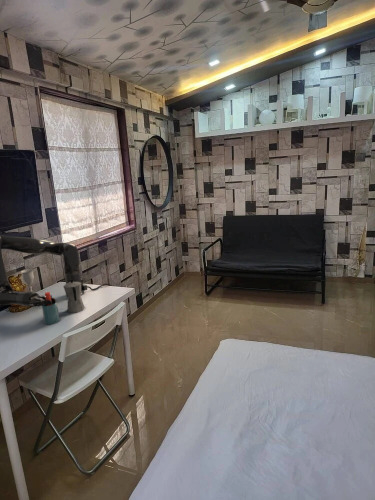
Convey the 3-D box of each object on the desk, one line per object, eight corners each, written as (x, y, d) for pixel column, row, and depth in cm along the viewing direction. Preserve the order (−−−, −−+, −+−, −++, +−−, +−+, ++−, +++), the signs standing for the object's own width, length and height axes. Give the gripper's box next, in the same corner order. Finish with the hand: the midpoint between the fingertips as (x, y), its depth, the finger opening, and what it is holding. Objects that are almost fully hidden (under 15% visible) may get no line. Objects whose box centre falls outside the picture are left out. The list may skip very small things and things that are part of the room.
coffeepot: (66, 307, 190) (61, 277, 185) (83, 303, 193) (78, 274, 189) (69, 317, 176) (64, 285, 172) (87, 313, 180) (82, 282, 176)
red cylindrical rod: (52, 316, 174) (48, 291, 171) (55, 317, 173) (50, 292, 169) (48, 318, 172) (43, 293, 169) (51, 319, 171) (46, 294, 167)
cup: (54, 317, 178) (51, 299, 175) (62, 319, 174) (59, 302, 171) (42, 322, 172) (38, 304, 170) (50, 325, 168) (47, 307, 166)
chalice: (33, 300, 204) (28, 272, 200) (23, 299, 206) (18, 272, 202) (40, 295, 211) (35, 268, 207) (31, 295, 213) (26, 268, 208)
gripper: (15, 297, 168) (42, 299, 162) (36, 287, 180) (61, 289, 175) (18, 310, 170) (44, 313, 164) (38, 300, 182) (63, 302, 176)
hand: (53, 301), depth 169 cm, fingers closed on red cylindrical rod, 2 cm apart
